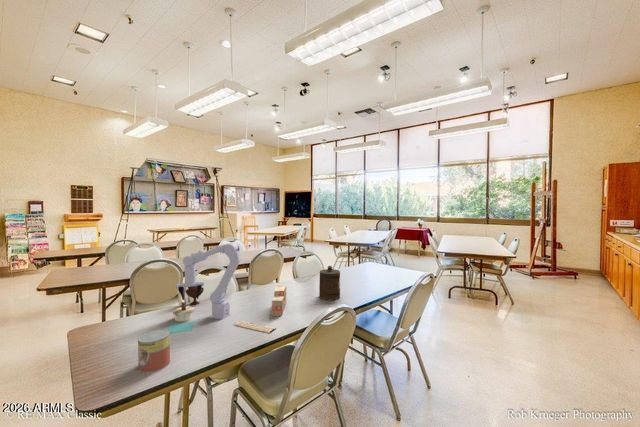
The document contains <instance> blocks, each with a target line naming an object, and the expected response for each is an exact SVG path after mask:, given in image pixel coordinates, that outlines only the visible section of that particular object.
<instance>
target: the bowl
mask: <svg viewBox="0 0 640 427" xmlns="http://www.w3.org/2000/svg"><path fill="white" fill-rule="evenodd" d="M193 313H194V311H193V312H192V313H190V314H186V315H174V321H175V322H180V323H182V322H187V321H189V320H191V319H193V315H194V314H193Z"/></svg>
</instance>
